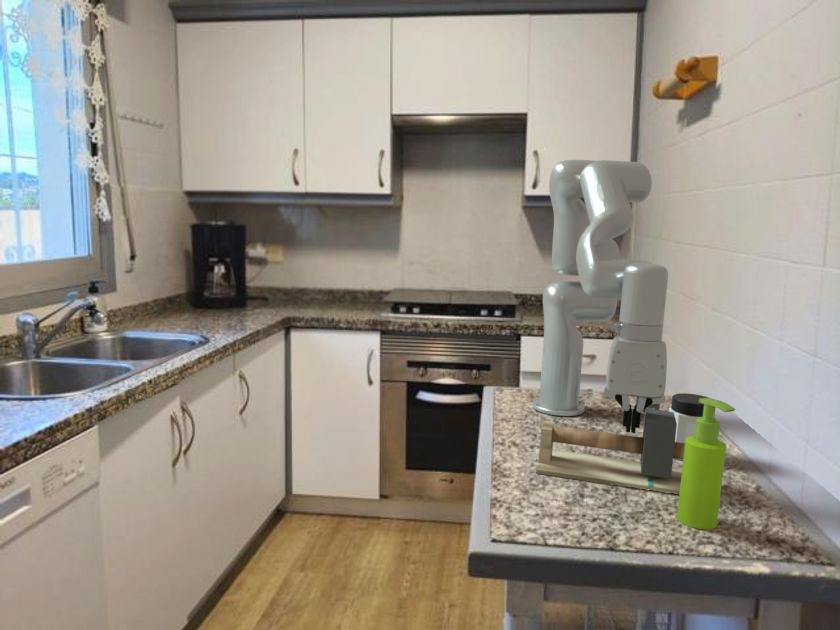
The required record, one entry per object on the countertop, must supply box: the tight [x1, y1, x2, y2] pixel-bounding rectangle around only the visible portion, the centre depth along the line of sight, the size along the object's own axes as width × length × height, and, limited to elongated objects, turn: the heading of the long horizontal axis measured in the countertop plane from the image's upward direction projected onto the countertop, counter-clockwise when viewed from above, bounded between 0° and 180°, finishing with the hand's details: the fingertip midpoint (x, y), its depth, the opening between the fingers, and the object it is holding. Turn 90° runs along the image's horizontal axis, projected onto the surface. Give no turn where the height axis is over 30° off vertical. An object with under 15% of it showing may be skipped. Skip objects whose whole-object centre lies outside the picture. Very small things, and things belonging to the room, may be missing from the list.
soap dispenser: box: [676, 397, 736, 530], centre depth 104 cm, size 6×7×20 cm
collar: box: [639, 409, 677, 478], centre depth 121 cm, size 8×5×10 cm, turn 163°
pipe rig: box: [535, 420, 685, 495], centre depth 123 cm, size 12×30×8 cm, turn 73°
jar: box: [668, 392, 717, 462], centre depth 135 cm, size 9×8×12 cm
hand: (630, 430), depth 122 cm, fingers closed
